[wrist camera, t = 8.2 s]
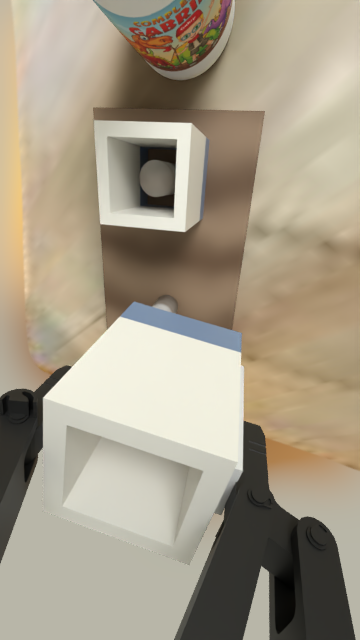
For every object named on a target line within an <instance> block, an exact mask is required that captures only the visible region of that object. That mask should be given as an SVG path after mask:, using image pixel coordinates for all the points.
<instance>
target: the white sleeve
mask: <svg viewBox="0 0 360 640" xmlns="http://www.w3.org/2000/svg"><path fill="white" fill-rule="evenodd" d="M241 338H242V333H240V332H236V331H233V330H229V329H226V328H223V327H219V326H216V325H212V324H209V323H205V322H202V321H199V320H195V319H192V318H188V317H185V316H182V315H178V314H175V313H171V312H168V311H165V310H161V309H158V308H154V307H151V306H148V305H144V304H141V303H137V302H133V303H132V304H131V305H130V306H129V307H128V308H127V309H126V310H125V312H124V313H123V314H122V315H121V316H120V317H119V318H118V319H117V320H116V321H115V322H114V323H113V324H112V325H111V326H110V327H109V328H108V330H107V331H106V332H105V333H104V334H103V335H102V336H101V337H100V338H99V339H98V340H97V341H96V342H95V343H94V344H93V345H92V346H91V348H90V349H89V350H88V351H87V352H86V353H85V354H84V355H83V356H82V357H81V358H80V359H79V360H78V361H77V362H76V363H75V365H74V366H73V367H72V368H71V369H70V370H69V371H68V372H67V373H66V374H65V375H64V376H63V377H62V378H61V379H60V380H59V381H58V383H57V384H56V385H55V386H54V387H53V388H52V389H51V390H50V391H49V392H48V393H47V394H46V395H45V396H44V397H43V511H44V512H46V513H49V514H51V515H54V516H57V517H60V518H62V519H65V520H68V521H70V522H73V523H76V524H79V525H82V526H84V527H87V528H90V529H92V530H95V531H98V532H100V533H103V534H106V535H109V536H111V537H114V538H117V539H120V540H122V541H125V542H128V543H131V544H133V545H136V546H139V547H141V548H144V549H147V550H149V551H152V552H155V553H158V554H160V555H163V556H166V557H169V558H171V559H174V560H177V561H179V562H182V563H185V564H188V565H189V564H190V562H191V560H192V558H193V556H194V554H195V552H196V550H197V548H198V545H199V543H200V541H201V539H202V537H203V535H204V533H205V531H206V529H207V526H208V524H209V522H210V520H211V518H212V516H213V514H214V512H215V510H216V507H217V505H218V503H219V501H220V499H221V497H222V495H223V493H224V491H225V489H226V486H227V484H228V482H229V480H230V478H231V476H232V474H233V472H234V470H235V467H236V465H237V463H238V441H239V407H240V372H241Z"/></svg>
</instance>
